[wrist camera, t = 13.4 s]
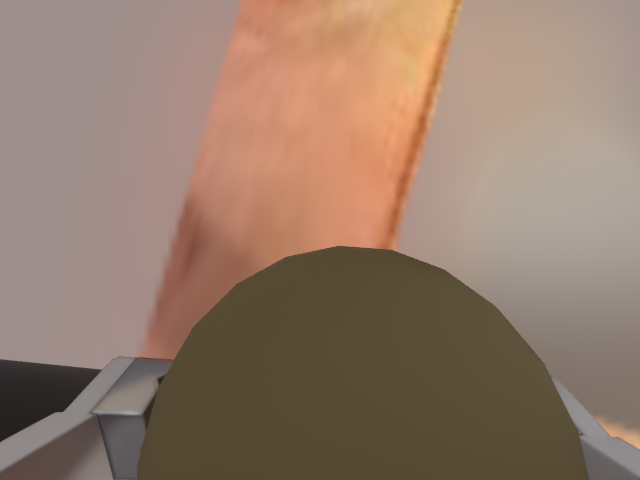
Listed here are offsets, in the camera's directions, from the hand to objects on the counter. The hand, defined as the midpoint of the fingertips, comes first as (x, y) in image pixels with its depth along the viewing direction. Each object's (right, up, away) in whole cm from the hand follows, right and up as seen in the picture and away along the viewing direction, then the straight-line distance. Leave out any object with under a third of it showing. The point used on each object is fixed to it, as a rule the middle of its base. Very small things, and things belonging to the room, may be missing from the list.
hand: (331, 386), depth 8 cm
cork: (0, -3, +5) cm, 6 cm away
